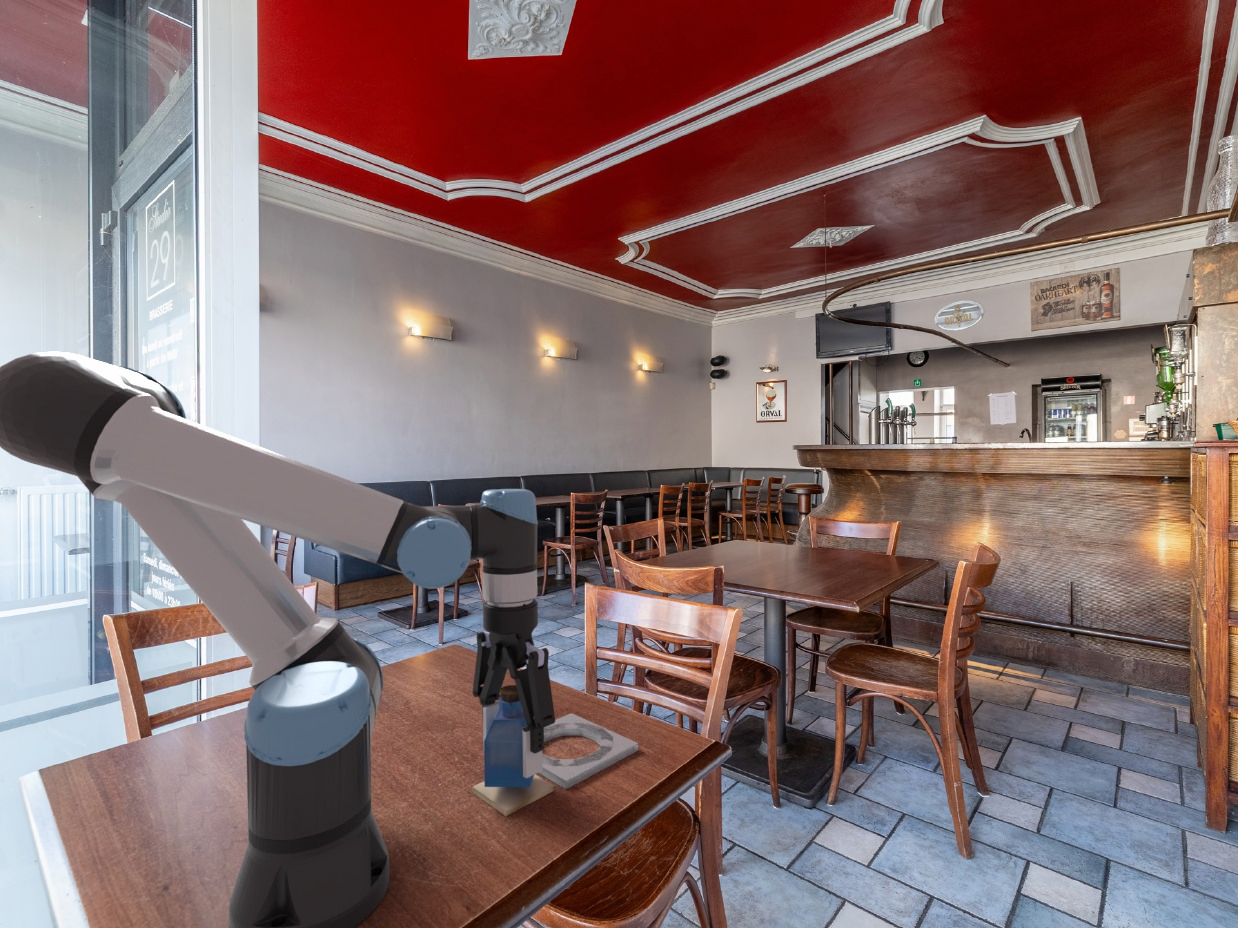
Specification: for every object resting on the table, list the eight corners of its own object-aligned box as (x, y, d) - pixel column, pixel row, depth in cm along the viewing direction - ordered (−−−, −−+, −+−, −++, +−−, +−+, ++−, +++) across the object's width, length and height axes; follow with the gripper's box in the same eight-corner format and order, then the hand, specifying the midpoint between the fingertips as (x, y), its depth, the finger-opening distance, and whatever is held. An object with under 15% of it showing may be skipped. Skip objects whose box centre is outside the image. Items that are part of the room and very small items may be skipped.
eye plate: (566, 789, 84) (566, 780, 84) (500, 750, 95) (500, 742, 95) (638, 750, 94) (638, 742, 94) (571, 719, 105) (571, 712, 105)
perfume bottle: (537, 763, 86) (537, 680, 86) (530, 787, 80) (529, 698, 80) (495, 762, 86) (494, 680, 86) (484, 786, 80) (483, 698, 80)
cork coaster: (505, 816, 77) (505, 810, 77) (472, 792, 83) (472, 786, 83) (553, 790, 83) (553, 785, 83) (519, 769, 89) (519, 764, 89)
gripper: (582, 608, 78) (583, 779, 78) (489, 584, 93) (491, 727, 93) (537, 620, 72) (538, 803, 73) (446, 592, 87) (448, 744, 88)
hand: (512, 760), depth 83 cm, fingers closed on perfume bottle, 9 cm apart
